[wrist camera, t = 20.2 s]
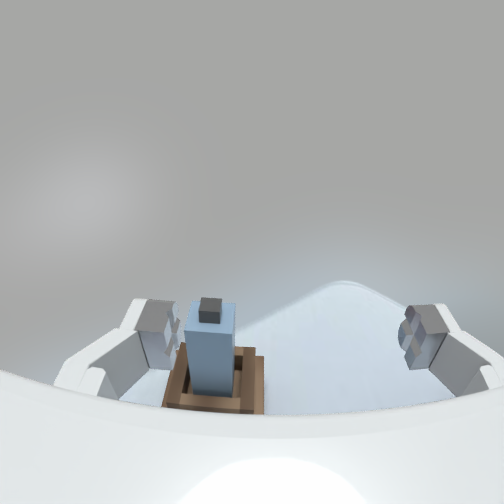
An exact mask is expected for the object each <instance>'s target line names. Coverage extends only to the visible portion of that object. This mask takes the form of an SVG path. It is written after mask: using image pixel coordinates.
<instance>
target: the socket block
mask: <svg viewBox="0 0 504 504" xmlns="http://www.w3.org/2000/svg"><path fill="white" fill-rule="evenodd" d="M255 349H256V348H255V347H236V346H235V360H234V386H233V398H229V397H215V396H204V395H193V391H192V384H191V378H190V371H189V364H188V357H187V349H186V343H183V342H181V344H180V349H179V350H176V360H175V364H174V368H173V370H171V371H170V375H169V378H168V382H167V386H166V390H165V394H164V398H163V402H162V406H161V407H165V408H173V409H182V410H192V411H203V412H215V413H231V414H255V415H264V356H255Z"/></svg>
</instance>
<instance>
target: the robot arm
mask: <svg viewBox="0 0 504 504" xmlns="http://www.w3.org/2000/svg"><path fill="white" fill-rule="evenodd" d="M178 311H179V310H178V305H177V303H176V302H173V301H162V300H152V299H149V300H148V299H138V298H135V299H134V300H133V301H132V303H131V305H130V307H129V309H128V311H127V313H126V315H125V317H124V319H123V321H122V323H121V326H120V328H119V329H116V328H115V329H114V330H112V331H110V332H109V333H107V334H106V335H104V336H103V337H101V338H100V339H98V340H96V341H95V342H93V343H92V344H90V345H89V346H87V347H86V348H84V349H83V350H81V351H79V352H78V353H76V354H75V355H73V356H72V357H70V358H69V359H67V360H66V361H65V363H64V365H63V366H62V368H61V370H60V372H59V374H58V376H57V378H56V380H55V382H54V384H53V385H49V384H45V383H42V382H38V381H35V380H32V379H28V378H25V377H22V376H19V375H16V374H13V373H10V372H7V371H4V370H1V369H0V504H504V358H503V357H502V356H501V355H499V354H498V353H496V352H495V351H493V350H492V349H490V348H489V347H488V346H486V345H485V344H483V343H482V342H480V341H479V340H477V339H476V338H474V337H473V336H471V335H470V334H468V333H467V332H465V331H463V332H462V331H461V329H460V328H459V326H458V324H457V323H456V321H455V319H454V318H453V316H452V315H451V313H450V311H449V310H448V308H447V306H446V305H444V304H443V303H442V304H432V305H410V306H408V307H407V309H406V311H405V317H406V319H405V320H404V321H403V322H402V323H401V325H400V327H399V331H398V340H399V344H400V347H401V348H402V349H403V350H404V351H406V354H405V356H404V357H405V360H406V362H407V365H408V368H409V370H416V369H427V368H429V370H430V371H431V372H432V373H433V374H434V375H435V376H436V377H437V378H438V379H439V380H440V381H441V382H442V383H443V384H444V385H445V386H446V387H447V388H448V389H449V390H450V391H451V392H452V393H453V394H454V395H455V396H456V397H455V398H450V399H445V400H440V401H434V402H429V403H423V404H417V405H410V406H403V407H396V408H388V409H379V410H370V411H359V412H347V413H331V414H307V415H255V414H231V413H215V412H203V411H192V410H182V409H173V408H165V407H158V406H151V405H144V404H137V403H131V402H125V401H120V400H119V398H120V397H121V396H122V395H123V394H124V393H126V392H127V391H128V390H129V389H130V388H131V387H132V386H133V385H134V384H135V383H136V382H137V381H138V380H139V379H140V378H141V377H142V376H143V375H144V374H145V373H146V372H147V371H149V368H150V369H161V370H173V368H174V364H175V360H176V351H175V349H176V348H178V347H179V345H180V340H181V322H180V320H179V319H178V318H177V314H178Z"/></svg>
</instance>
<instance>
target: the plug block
mask: <svg viewBox="0 0 504 504" xmlns="http://www.w3.org/2000/svg"><path fill="white" fill-rule="evenodd" d="M184 333H185V342H186V349H187V357H188V364H189V371H190V378H191V384H192V391H193V395H204V396H215V397H229V398H233V386H234V360H235V303H222V299H216V298H201V301H192V303H191V307H190V310H189V314H188V318H187V321H186V325H185V329H184Z"/></svg>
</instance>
